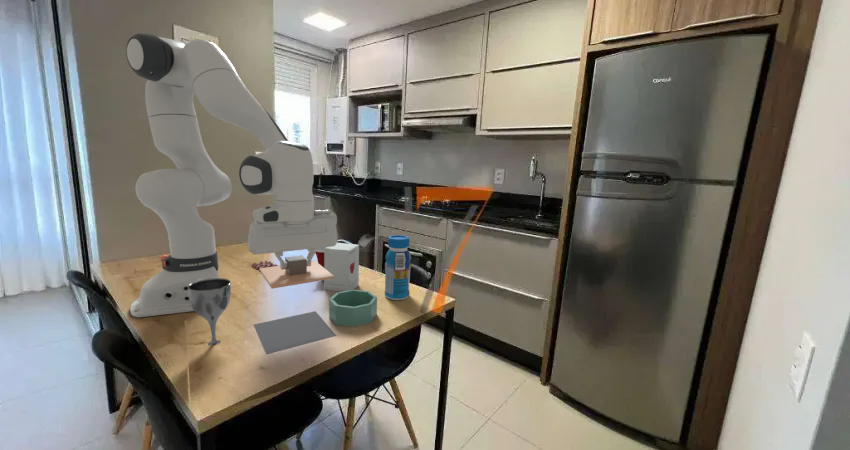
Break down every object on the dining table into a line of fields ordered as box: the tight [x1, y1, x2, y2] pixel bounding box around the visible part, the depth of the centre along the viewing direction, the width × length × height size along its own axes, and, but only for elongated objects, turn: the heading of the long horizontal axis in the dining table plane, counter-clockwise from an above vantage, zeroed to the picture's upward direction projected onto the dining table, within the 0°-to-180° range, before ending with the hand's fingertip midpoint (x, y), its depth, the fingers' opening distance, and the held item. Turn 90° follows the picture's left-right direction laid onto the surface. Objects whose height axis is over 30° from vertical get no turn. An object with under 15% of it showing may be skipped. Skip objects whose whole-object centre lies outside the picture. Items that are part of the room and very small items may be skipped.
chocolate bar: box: [251, 260, 279, 272], centre depth 132 cm, size 7×19×2 cm, turn 47°
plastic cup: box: [315, 247, 326, 268], centre depth 126 cm, size 11×11×12 cm
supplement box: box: [323, 242, 360, 292], centre depth 116 cm, size 9×9×15 cm
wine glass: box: [188, 277, 232, 347], centre depth 77 cm, size 8×8×15 cm
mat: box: [253, 310, 337, 355], centre depth 86 cm, size 16×16×1 cm
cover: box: [259, 255, 334, 289], centre depth 83 cm, size 14×14×4 cm
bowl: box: [328, 289, 378, 328], centre depth 95 cm, size 12×12×6 cm
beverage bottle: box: [384, 234, 412, 301], centre depth 111 cm, size 8×8×20 cm
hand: (295, 267), depth 83 cm, fingers closed on cover, 4 cm apart
